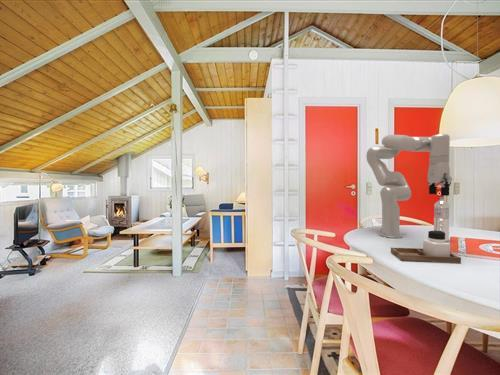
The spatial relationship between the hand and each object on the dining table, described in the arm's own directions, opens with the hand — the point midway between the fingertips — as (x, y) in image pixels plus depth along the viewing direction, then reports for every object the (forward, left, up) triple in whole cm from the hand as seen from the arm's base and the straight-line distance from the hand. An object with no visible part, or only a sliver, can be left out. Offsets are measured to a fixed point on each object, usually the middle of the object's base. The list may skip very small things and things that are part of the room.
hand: (438, 194), depth 115 cm
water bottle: (-22, +14, -28) cm, 39 cm away
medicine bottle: (+11, -6, -28) cm, 31 cm away
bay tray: (+11, -12, -28) cm, 33 cm away
